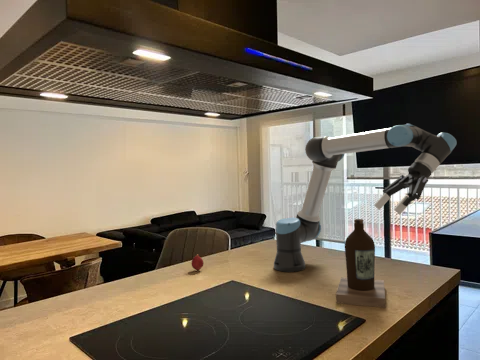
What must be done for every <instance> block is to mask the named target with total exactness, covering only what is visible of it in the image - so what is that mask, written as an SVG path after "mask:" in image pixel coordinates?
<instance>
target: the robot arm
mask: <svg viewBox="0 0 480 360" xmlns="http://www.w3.org/2000/svg"><path fill="white" fill-rule="evenodd" d="M456 146H457V139H456V138H455V136H453V135H452V134H450V133H448V132H444V131H443V132H440V133H438V134H437V135H436V134H433V133H431V132H429V131H426V130H424V129H422V128H420V127H418V126H416V125H413V124H411V123H406V124H398V125H393V126H392V127H388V128H387V127H386V128H381V129H375V130H369V131H365V132H364V131H362V132H358V133H352V134H346V135H340V136H335V137H332V136H329V135H326V136H325V135H324V136H315V137H312V138H310V139H309V140H308V141H307V143H306V145H305V155H306V156H307V158H308V159H309V160H311V161H312V164H313V168H312V169H313V170H312V172H311V176H310V179H309V183H308V186H307V189H306V190H307V191H306V193H305V197H304V200H303V204H302V207H301V210H300V211H298V212H297V214H296V217H287V218H286V217H285V218H281V219H279V220H278V221H277V222H276V223H275V241H276V244H275V245H276V254H275V258H274V260H273V269H274V270H276V271H279V272H283V273H284V272H286V273H289V272H290V273H291V272H293V273H294V271H295V272H300V270H301V271H303V270H305V269H306V261H305V259H304V256H303V253H302V244H303V243H306V242H309V241H313V240H315V239H316V238H318V237H319V236H320V233H321V230H322V225H321V222H320V221H321V218H320V216H319V214H320V210H321V207H322V205H323V200H324V197H325V195H326V192H327V191H326V190H327V189H328V188H327V187H328V184H329V182H330V181H329V180H330V178H331V174H332V171H334V170H336V168H337V166H338V162H340V161H341V160H343V158H344V157H345V154H354V153H360V152H368V151H376V150H383V149H390V148H391V149H393V148H401V147H410V148H411V147H412V148H414V149H416V150H418V151H420V152H421V153H420V155H418V156H417V158H416V159H415V160H414V162H413V163H411V165H410V166H409V167H408V169H407V171H408V174H407V175H406V176H405V175H404V174H401V175H400V176H399V177H398V178H397V179H396V180H394V181H393V182H392V183H390V184H389V185H388V186H386V187H385V188H384V189H383V190H382V193H383V194H382V195H381V196H380V198H379V199H378V200H377V201H376V202H375V203H374V205H373V206H374V207H375V208H377V210H379V211H380V210H381V209H382V208H383V207H384V206H385V204H386V203H387V202H388V201H389V200H390V199H391V198H392V197H391V196H394V195H395V194H396V193H398V192H399V191H402V190H405V189H408V192H407V193H406V195H404V196H403V197H402V199H401V200H400V201H399V202H398V203H397V205H396V206H395V207H394V208H393V210H394V211H395V212H396V213H397V214H399V215H401V214H402V213H403V212H404V211H405V210H406V208H408V206H409V205H410V204H411V203H412V201H415V200H420V199H421V196H422V194H423V191H424V190H425V186H426V184H427V183H428V182H429V178H430V177H431V176H432V174H433V173H434V172H435V171H436V170H437V169H438V168H439V166H440V165H441V164H442V163H443V162H444V161H445V159H446V158H447V157H448V156H449V155H450V154H452V152H453V150H454V149H455V147H456Z"/></svg>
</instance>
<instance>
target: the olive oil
mask: <svg viewBox="0 0 480 360" xmlns="http://www.w3.org/2000/svg"><path fill="white" fill-rule="evenodd" d="M364 225H365V224H364V219H362V218H355V219H354V223H353V226H354V230H352V232H350V234H349V235H348V236H347V237H346V239H345V241H344V254H345V265H346V268H345V269H346V278H347V282H348V287H349V288H351V289H354V290H359V291H368V290H372V289H374V280H375V257H376V245H375V242H374V239H373V238H372V236H370V234H369V233H368V232H367V231H366V230H365V229H364V228H365V226H364Z"/></svg>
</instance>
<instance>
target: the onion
mask: <svg viewBox="0 0 480 360" xmlns="http://www.w3.org/2000/svg"><path fill="white" fill-rule="evenodd" d="M190 264H191V267H192V268H193V269H195V270H196V271H197V272H198V270H199V271H200V270H201V269H202V268H203V267H204V260H203V258H202V257H201V256H199V254H196V255H195V256H194V257H193V258H192V259H191V263H190Z"/></svg>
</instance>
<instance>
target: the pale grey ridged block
mask: <svg viewBox="0 0 480 360" xmlns="http://www.w3.org/2000/svg"><path fill="white" fill-rule="evenodd" d="M335 302H336V304H345V305H354V306H355V305H357V306H365V307H376V308H386V292H385V280H384V279H374V289H372V290H368V291H359V290H354V289H351V288H349V287H348V282H347V277H344V276H343V277H342V276H341V277H340V280H339V283H338V287H337V290H336V293H335Z"/></svg>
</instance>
